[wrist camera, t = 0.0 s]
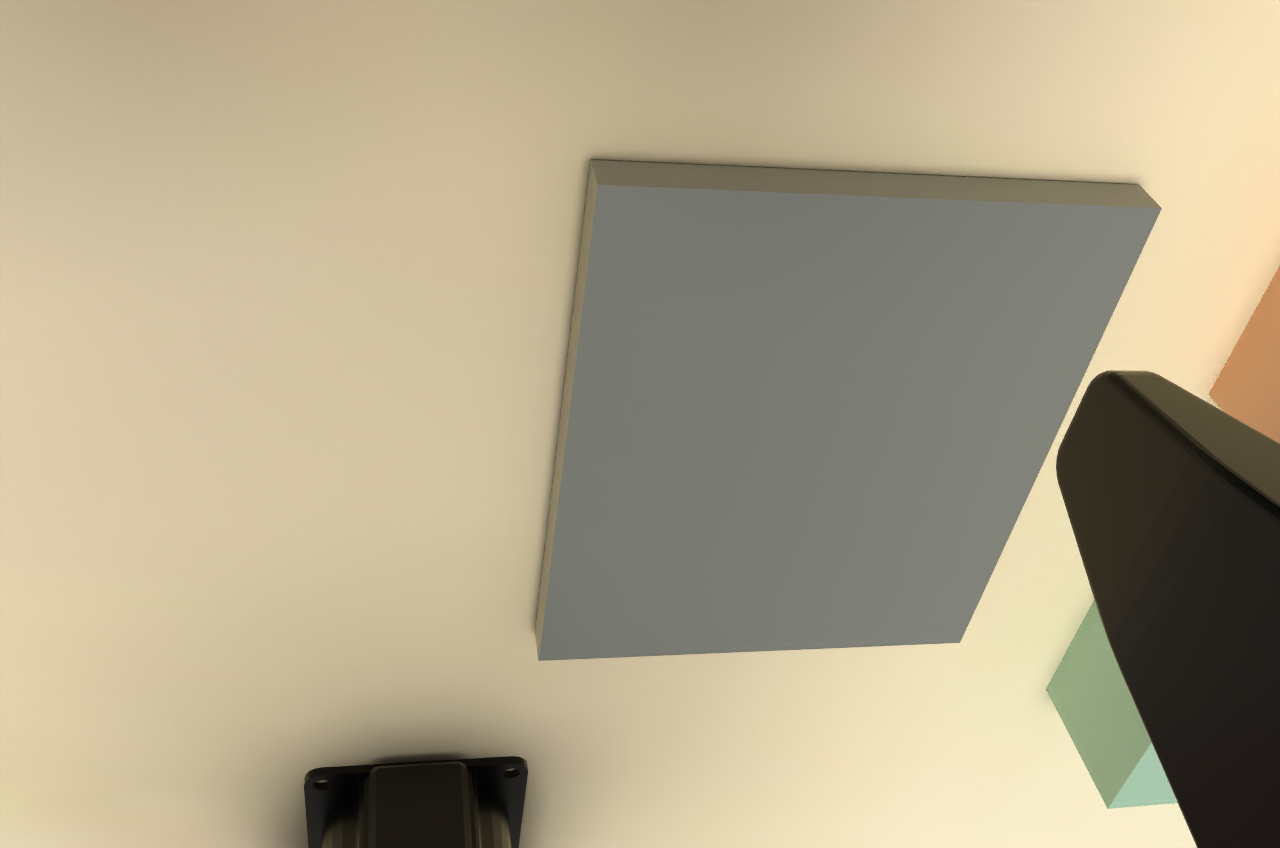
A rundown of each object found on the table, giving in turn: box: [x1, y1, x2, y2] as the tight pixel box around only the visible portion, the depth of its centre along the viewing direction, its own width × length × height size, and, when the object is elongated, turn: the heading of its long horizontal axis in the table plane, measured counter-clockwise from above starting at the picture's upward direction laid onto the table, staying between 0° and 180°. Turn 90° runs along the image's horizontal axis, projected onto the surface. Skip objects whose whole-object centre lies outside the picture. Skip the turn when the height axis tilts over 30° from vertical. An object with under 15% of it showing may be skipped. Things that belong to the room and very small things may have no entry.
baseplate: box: [535, 160, 1162, 661], centre depth 28 cm, size 14×12×1 cm
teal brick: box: [1046, 600, 1178, 809], centre depth 34 cm, size 10×5×4 cm, turn 173°
